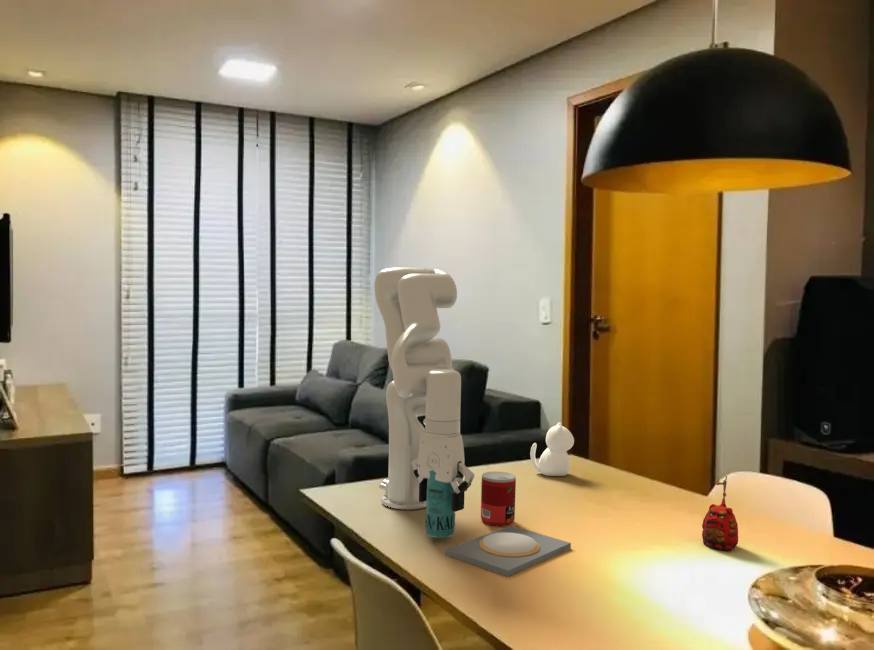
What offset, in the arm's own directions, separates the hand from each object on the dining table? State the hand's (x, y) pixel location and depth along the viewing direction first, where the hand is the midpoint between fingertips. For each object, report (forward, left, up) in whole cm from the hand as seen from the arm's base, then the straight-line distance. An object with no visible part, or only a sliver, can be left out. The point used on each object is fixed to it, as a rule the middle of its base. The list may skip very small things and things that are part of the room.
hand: (441, 505), depth 167 cm
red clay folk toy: (+45, +41, -8) cm, 61 cm away
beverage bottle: (0, 0, -8) cm, 8 cm away
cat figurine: (-15, +65, -8) cm, 67 cm away
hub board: (+15, +5, -8) cm, 17 cm away
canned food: (+1, +19, -8) cm, 21 cm away
